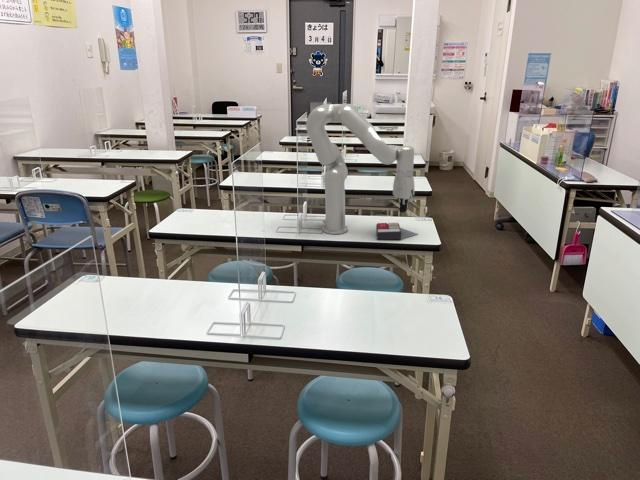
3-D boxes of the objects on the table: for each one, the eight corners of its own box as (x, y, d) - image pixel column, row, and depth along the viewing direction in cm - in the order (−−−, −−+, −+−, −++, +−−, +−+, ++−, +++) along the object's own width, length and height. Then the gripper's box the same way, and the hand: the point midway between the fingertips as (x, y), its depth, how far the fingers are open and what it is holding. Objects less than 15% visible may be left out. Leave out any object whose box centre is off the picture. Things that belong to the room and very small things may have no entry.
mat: (383, 232, 230) (383, 232, 230) (400, 228, 236) (400, 227, 236) (401, 239, 221) (401, 238, 221) (417, 234, 227) (417, 233, 227)
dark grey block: (398, 221, 233) (401, 230, 218) (398, 230, 234) (401, 239, 220) (376, 222, 234) (376, 231, 219) (376, 230, 235) (377, 239, 221)
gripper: (387, 171, 222) (386, 209, 228) (410, 177, 210) (408, 217, 217) (399, 169, 226) (397, 206, 232) (422, 175, 214) (420, 213, 221)
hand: (403, 211), depth 225 cm, fingers closed
